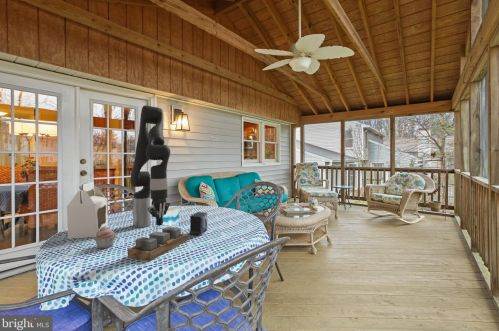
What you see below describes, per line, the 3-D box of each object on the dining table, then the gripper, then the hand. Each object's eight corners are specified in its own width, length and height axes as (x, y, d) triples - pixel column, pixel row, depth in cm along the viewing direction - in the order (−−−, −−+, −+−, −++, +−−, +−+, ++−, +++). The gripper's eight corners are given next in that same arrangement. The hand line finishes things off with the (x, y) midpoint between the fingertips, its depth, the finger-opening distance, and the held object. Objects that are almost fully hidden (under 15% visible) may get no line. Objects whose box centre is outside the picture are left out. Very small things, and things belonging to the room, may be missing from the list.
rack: (127, 257, 113) (127, 241, 113) (167, 238, 138) (167, 225, 138) (150, 261, 109) (150, 244, 108) (187, 241, 134) (187, 227, 133)
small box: (201, 235, 142) (200, 216, 142) (189, 235, 144) (189, 215, 143) (207, 230, 153) (207, 212, 152) (197, 229, 154) (197, 211, 154)
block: (149, 246, 123) (149, 234, 122) (156, 243, 127) (156, 231, 127) (163, 249, 120) (163, 236, 120) (169, 245, 124) (169, 233, 124)
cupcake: (114, 248, 123) (113, 227, 122) (91, 251, 120) (91, 229, 120) (118, 242, 132) (117, 222, 131) (97, 244, 129) (96, 224, 129)
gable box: (83, 227, 158) (82, 180, 157) (108, 226, 161) (106, 180, 160) (67, 239, 136) (65, 185, 135) (95, 237, 140) (94, 184, 138)
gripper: (161, 186, 130) (162, 221, 130) (141, 189, 117) (142, 228, 118) (174, 186, 127) (175, 222, 128) (155, 190, 115) (156, 229, 115)
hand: (159, 225), depth 123 cm, fingers closed
